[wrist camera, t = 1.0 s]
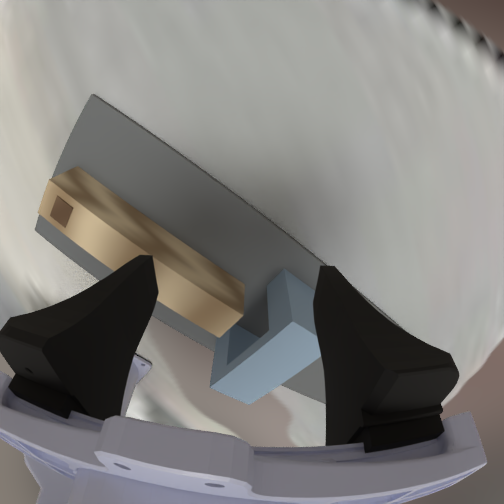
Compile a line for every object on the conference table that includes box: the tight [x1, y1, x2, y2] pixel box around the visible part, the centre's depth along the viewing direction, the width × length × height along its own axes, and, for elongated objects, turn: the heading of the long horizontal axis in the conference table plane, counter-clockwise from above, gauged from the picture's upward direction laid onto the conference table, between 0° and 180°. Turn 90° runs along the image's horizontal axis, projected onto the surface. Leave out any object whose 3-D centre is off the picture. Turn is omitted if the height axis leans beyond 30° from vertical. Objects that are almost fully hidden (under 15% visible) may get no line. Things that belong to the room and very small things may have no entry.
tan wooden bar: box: [38, 166, 245, 338], centre depth 21 cm, size 17×3×4 cm, turn 51°
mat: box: [35, 94, 405, 404], centre depth 25 cm, size 40×14×1 cm, turn 51°
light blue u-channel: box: [210, 269, 321, 405], centre depth 23 cm, size 4×9×6 cm, turn 141°
